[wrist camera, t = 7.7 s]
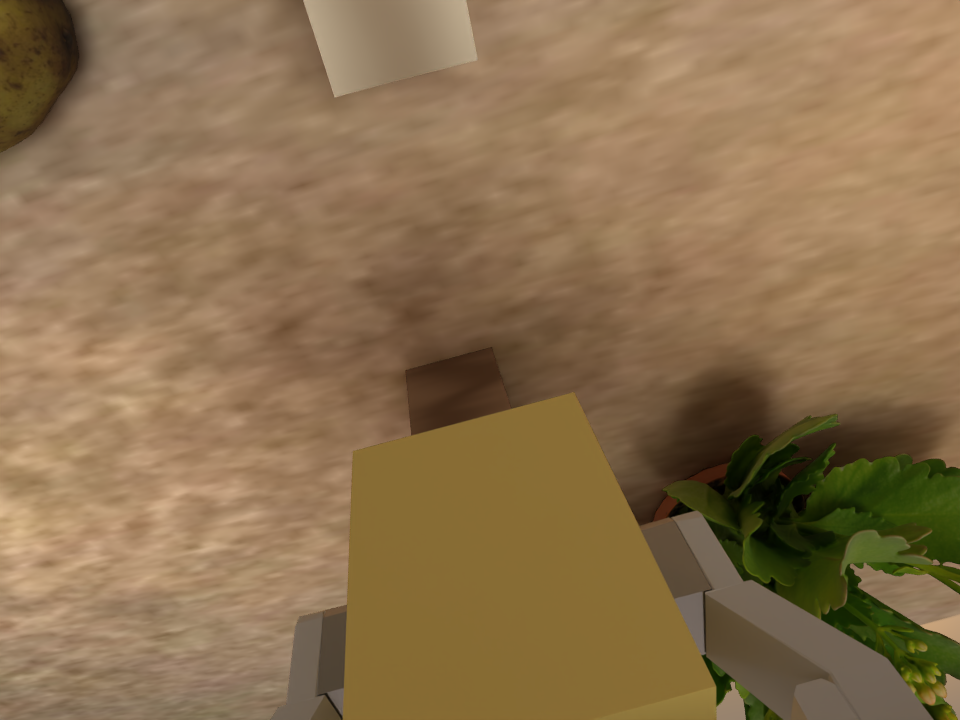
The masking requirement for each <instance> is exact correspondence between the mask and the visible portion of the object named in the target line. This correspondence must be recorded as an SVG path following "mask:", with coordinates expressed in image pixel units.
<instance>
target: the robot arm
mask: <svg viewBox="0 0 960 720" xmlns="http://www.w3.org/2000/svg"><path fill="white" fill-rule="evenodd" d="M639 527H640V530H641V532H642V534H643V536H644V538H645V540H646V542H647V544H648V546H649V548H650V550H651V552H652V554H653V556H654V558H655V561H656V563H657V565H658V567H659V569H660V571H661V573H662V575H663V577H664V579H665V581H666V583H667V585H668V587H669V590H670V592H671V594H672V596H673V598H674V600H675V602H676V604H677V606H678V608H679V610H680V612H681V614H682V616H683V619H684V621H685V623H686V625H687V627H688V629H689V631H690V633H691V635H692V637H693V639H694V641H695V643H696V645H697V648H698V650H699V652H700V654H701V655H704V654H706V657H707V658H709V659H710V660H711V661H712V662H714V663H715V664H716V665H717V666H718V667H720V668H721V669H722V670H723V671H725V672H726V673H727V674H728V675H729V676H731V677H732V678H733V679H734V680H736V681H737V682H738V683H739V684H740V685H742V686H743V687H744V688H745V689H747V690H748V691H749V692H750V693H751V694H753V695H754V696H755V697H756V698H758V699H759V700H760V701H761V702H762V703H764V704H765V705H766V706H767V707H769V708H770V709H771V710H772V711H773V712H775V713H776V714H777V715H778V716H780V717H781V718H782V719H783V720H933V718H932V717H931V716H930V714H929V713H928V712H927V710H926V709H925V708H924V706H923V705H922V704H921V702H920V701H919V700H918V698H917V697H916V696H915V694H914V693H913V692H912V690H911V689H910V688H909V686H908V685H907V684H906V682H905V681H904V680H903V678H902V677H901V676H900V674H899V673H898V672H897V670H896V669H895V668H894V666H893V665H892V664H891V662H890V661H889V660H888V659H887V658H886V657H884V656H882V655H881V654H879V653H877V652H875V651H874V650H872V649H870V648H868V647H867V646H865V645H863V644H862V643H860V642H858V641H856V640H855V639H853V638H851V637H849V636H848V635H846V634H844V633H843V632H841V631H839V630H837V629H836V628H834V627H832V626H830V625H829V624H827V623H825V622H824V621H822V620H820V619H818V618H817V617H815V616H813V615H811V614H810V613H808V612H806V611H805V610H803V609H801V608H799V607H798V606H796V605H794V604H792V603H791V602H789V601H787V600H786V599H784V598H782V597H780V596H779V595H777V594H775V593H773V592H772V591H770V590H768V589H767V588H765V587H763V586H761V585H760V584H758V583H756V582H754V581H753V580H749V581H744V582H743V580H742V578H741V577H740V575H739V574H738V572H737V570H736V569H735V567H734V565H733V564H732V562H731V561H730V559H729V557H728V556H727V554H726V552H725V551H724V549H723V548H722V546H721V544H720V543H719V541H718V539H717V538H716V536H715V535H714V533H713V531H712V530H711V528H710V527H709V525H708V523H707V522H706V520H705V518H704V517H703V515H702V514H701V513H700V512H698V511H693V512H689V513H686V514H682V515H678V516H675V517H671V518H669V517H668V518H665V519H661V520H658V521H654V522H651V523H647V524H644V525H640V526H639ZM346 620H347V605H344V606H340V607H336V608H331V609H327V610H323V611H319V612H315V613H312V614H308V615H304V616H300V617H299V619H298V621H297V624H296V626H295V633H294V641H293V650H292V658H291V667H290V675H289V684H288V692H287V700H286V705H284V706H281V707H278V708H277V710H276V711H275V713H274V714H273V716H272V717H271V719H270V720H343V699H344V672H345V646H346Z"/></svg>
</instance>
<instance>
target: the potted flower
mask: <svg viewBox="0 0 960 720" xmlns="http://www.w3.org/2000/svg"><path fill="white" fill-rule="evenodd" d="M837 416H838V415H837V414H833V415H828V416H824V417H814V418H811V417H812V416H807V417H806V418H805V419H803V420H801V421H800V422H798V423H797V424H795V425H794V426H792V427H791V428H789V429H788V430H786V431H785V432H783V433H782V434H780V435H779V436H778V437H776V438H775V439H774V440H772V441H771V442H770V443H768V444H767V445H766V446H763V445H761V444H760V442H761V441H762V440H763V439H762V438H759V436H758V435H752V436H750V437H748V438H747V439H746V440H745V441H744V442H743V443H742V444H741V445H740V447H739V449H738V450H736V451H734V452H733V454H732V457H731V462H730V463H726V464H721V465H717V466H715V467H712V468H709V469H705V470H703V471H701V472H700V473H698V474H696V475H695V476H693V477H690V478H688V479H687V480H682V481H676V482H673V483H672V484H670V485H668V486H667V487H665V488H663V489H662V491H665V492H667V493H668V496H667V497H666V498H665V500H664V501H663V502H662V504H661V505H660V507H659V508H658V510H657V511H656V513H655V517H654V520H653V522H654V521H658V520H661V519H665V518H668V517H669V518H671V517H675V516H678V515H682V514H686V513H689V512H693V511H698V512H700V513H701V514H702V515H703V517H704V518H705V520H706V522H707V523H708V525H709V527H710V528H711V530H712V531H713V533H714V535H715V536H716V538H717V539H718V541H719V543H720V544H721V546H722V548H723V549H724V551H725V552H726V554H727V556H728V557H729V559H730V561H731V562H732V564H733V565H734V567H735V569H736V570H737V572H738V574H739V575H740V577H741V578H742V580H743V582H744V581H749V580H753V581H754V582H756V583H758V584H760V585H761V586H763V587H765V588H767V589H768V590H770V591H772V592H773V593H775V594H777V595H779V596H780V597H782V598H784V599H786V600H787V601H789V602H791V603H792V604H794V605H796V606H798V607H799V608H801V609H803V610H805V611H806V612H808V613H810V614H811V615H813V616H815V617H817V618H818V619H820V620H822V621H824V622H825V623H827V624H829V625H830V626H832V627H834V628H836V629H837V630H839V631H841V632H843V633H844V634H846V635H848V636H849V637H851V638H853V639H855V640H856V641H858V642H860V643H862V644H863V645H865V646H867V647H868V648H870V649H872V650H874V651H875V652H877V653H879V654H881V655H882V656H884V657H886V658H887V659H888V660H889V661H890V662H891V664H892V665H893V666H894V668H895V669H896V670H897V672H898V673H899V674H900V676H901V677H902V678H903V680H904V681H905V682H906V684H907V685H908V686H909V688H910V689H911V690H912V692H913V693H914V694H915V696H916V697H917V698H918V700H919V701H920V702H921V704H922V705H923V706H924V708H925V709H926V710H927V712H928V713H929V714H930V716H931V717H932V718H933V720H958V719H957V717H956V714H955V712H954V710H953V709H952V706H950V705H949V704H948V703H947V702H945V701H944V699H943V698H946V696H947V692H946V689H945V687H944V686H945V685H946V682H947V681H946V675H945V674H950V675H951V676H953V677H955V678H957V679H959V680H960V644H959V643H958V642H956V641H954V640H952V639H950V638H948V637H947V636H944V635H942V634H940V633H937V632H933V631H930V630H926V629H924V628H922V627H921V626H919V625H918V624H916V623H915V622H913V621H911V620H910V619H908V618H907V617H905V616H903V615H902V614H900V613H899V612H897V611H895V610H893V609H892V608H890V607H888V606H887V605H885V604H883V603H882V602H880V601H879V600H877V599H876V598H874V597H872V596H871V595H869V594H868V593H866V592H864V591H863V590H861V589H860V588H858V583H860V582H861V581H862V580H861V578H860V577H858V576H856V575H855V574H854V570H853V569H851V568H850V564H854V565H855V566H856V567H858V568H860V569H862V568H863V566H864V565H863V563H867V565H869V566H871V567H872V568H873V569H874V570H876V571H878V570H883V571H884V572H885V573H886V574H887V573H888V574H891V575H894V576H903V575H904V574H905V573H908V574H914V575H924V574H929V575H931V576H933V577H935V578H936V579H938V580H939V581H941V582H942V583H944V584H945V585H947V586H948V587H950V588H951V589H953V590H954V591H956V592H957V593H959V594H960V586H959V585H957V584H956V583H954V582H953V581H956V582H958V583H960V569H956V568H953V567H948V566H943V565H942V564H943V563H944V562H952V563H955V564H960V469H959V468H956V467H949V468H946V464H945V462H944V461H943V460H941V459H928V460H924V461H922V462H920V463H916V464H912V462H913V460H912V458H911V456H910V455H908V454H899V455H897V456H895V457H891V456H888V457H883V458H880V459H875V460H874V461H873V462H868V460H867V459H864V458H861V459H858V460H856V461H855V462H854V463H851V464H849V463H848V464H846V465H845V466H843V467H834V468H833V469H832V470H831V471H830V473H829V474H828V475H827V476H826V477H825V478H824V475H823V471H824V470H825V468H826V467H827V466H828V465H829V463H830V462H829V461H828V459H829V458H830V457H832V456H833V455H834V454H835V451H833V449H834V448H835V446H836V443H833V444H831V445H830V446H829V447H828V448H827V449H826V450H825V451H824V452H823V453H822V454H821V455H820V456H819V457H818V458H817V459H816V460H814V461H813V462H812V463H810V464H809V465H808V466H807V467H805V468H804V469H803V470H802V471H801V472H800V473H798V474H797V475H796V476H795V477H794V478H793V479H792V480H791V479H789V478H788V477H787V476H786V475H785V474H784V473H783V472H782V471H781V469H782V468H784V467H787V466H789V465H793V464H798V463H802V462H804V461H807V460H812V459H811V458H808V457H799V458H792V459H791V457H792V455H793V454H795V453H796V452H798V450H799V449H800V447H799V446H798V445H796V444H793V443H791V442H792V441H794V440H795V439H798V438H800V437H803V436H805V435H808V434H811V433H813V432H816V431H820V430H823V429H827V428H831V427H835V426H838V425H840V423H839V422H836V420H837V419H838V418H837ZM815 484H816V486H815V487H814V485H815ZM810 492H812V493H811V495H810V497H809V498H808V499H807V500H806V509H804V498H803V494H804V495H808V494H809V493H810ZM935 559H936V560H938V561H939V562H940V565H935V566H933V565H931V564H933V560H935ZM913 567H917V568H919V569H920V570H918V569H915V568H913ZM950 579H951V580H953V581H951V580H950ZM701 656H702V658H703V660H704V662H705V664H706V666H707V668H708V670H709V672H710V674H711V676H712V679H713V681H714V683H715V685H716V707H717V706H718V705H719V704H720V703H721V702H722V701H723V699H724V697H725V695H726V693H727V692H729V691H731V690H732V689H731V685H730V683H731V682H735V688H736V689H737V690H738V691H739V694H740V696H741V698H743V700H744V707H745V715H746V720H783V719H782V718H781V717H780V716H778V715H777V714H776V713H775V712H773V711H772V710H771V709H770V708H769V707H767V706H766V705H765V704H764V703H762V702H761V701H760V700H759V699H758V698H756V697H755V696H754V695H753V694H751V693H750V692H749V691H748V690H747V689H745V688H744V687H743V686H742V685H740V684H739V683H738V682H737V681H736V680H734V679H733V678H732V677H731V676H729V675H728V674H727V673H726V672H725V671H723V670H722V669H721V668H720V667H718V666H717V665H716V664H715V663H714V662H712V661H711V660H710V659H709V658H707V657H706V654H704V655H701ZM749 705H750V706H749Z"/></svg>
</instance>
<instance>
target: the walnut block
mask: <svg viewBox="0 0 960 720" xmlns="http://www.w3.org/2000/svg"><path fill="white" fill-rule="evenodd" d="M406 380H407V391H408V403H409V414H410V425H411V436H412V435H416V434H419V433H423V432H427V431H431V430H434V429H438V428H442V427H446V426H449V425H453V424H457V423H461V422H464V421H468V420H472V419H476V418H479V417H483V416H487V415H491V414H494V413H498V412H502V411H505V410H509V409H511V406H510V403H509V400H508V397H507V394H506V391H505V388H504V384H503V381H502V378H501V375H500V372H499V369H498V366H497V363H496V360H495V357H494V354H493V350H492V347H491V348H487V349H483V350H479V351H476V352H472V353H468V354H465V355H461V356H457V357H453V358H450V359H446V360H442V361H439V362H435V363H431V364H427V365H424V366H420V367H416V368H413V369H409V370H406Z"/></svg>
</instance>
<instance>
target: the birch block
mask: <svg viewBox="0 0 960 720" xmlns="http://www.w3.org/2000/svg"><path fill="white" fill-rule="evenodd" d="M303 1H304V4H305V7H306V11H307V14H308V17H309V20H310V23H311V26H312V29H313V32H314V35H315V38H316V41H317V44H318V48H319V51H320V54H321V57H322V60H323V63H324V66H325V69H326V72H327V75H328V78H329V81H330V85H331V88H332V91H333V94H334V97H338V96H342V95H346V94H350V93H354V92H357V91H361V90H365V89H369V88H373V87H377V86H380V85H384V84H388V83H392V82H396V81H400V80H403V79H407V78H411V77H415V76H419V75H423V74H426V73H430V72H434V71H438V70H442V69H446V68H449V67H453V66H457V65H461V64H465V63H469V62H472V61H476V60H478V58H477V53H476V48H475V43H474V38H473V33H472V28H471V23H470V18H469V13H468V8H467V3H466V0H303Z"/></svg>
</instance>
